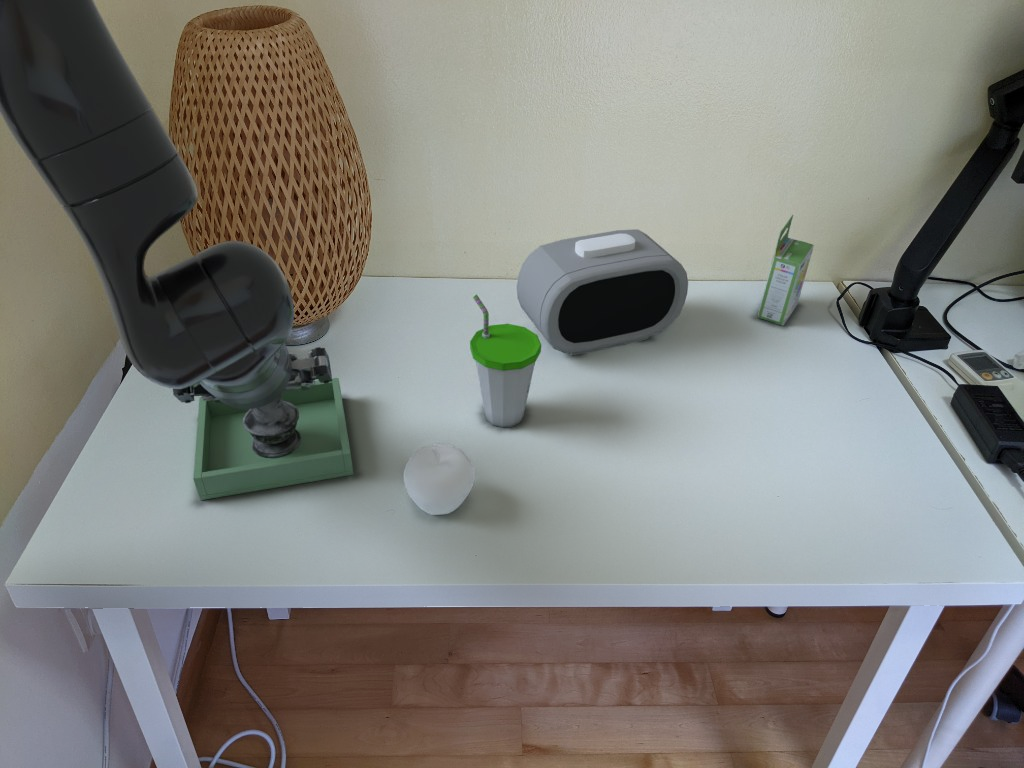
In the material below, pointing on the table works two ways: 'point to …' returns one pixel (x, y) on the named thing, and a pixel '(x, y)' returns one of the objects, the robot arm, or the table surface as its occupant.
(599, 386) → the table surface
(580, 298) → the alarm clock
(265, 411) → the chess piece
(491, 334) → the cup
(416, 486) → the plain white apple
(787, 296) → the ink box
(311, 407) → the tray
